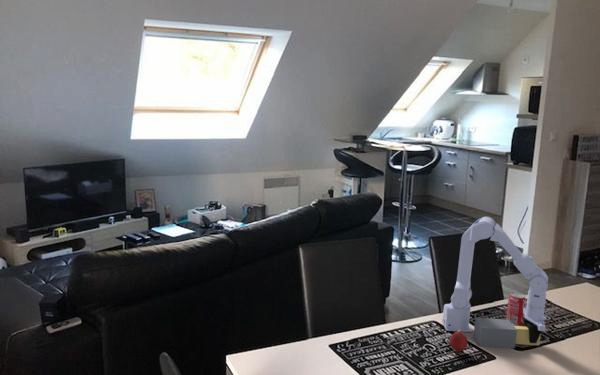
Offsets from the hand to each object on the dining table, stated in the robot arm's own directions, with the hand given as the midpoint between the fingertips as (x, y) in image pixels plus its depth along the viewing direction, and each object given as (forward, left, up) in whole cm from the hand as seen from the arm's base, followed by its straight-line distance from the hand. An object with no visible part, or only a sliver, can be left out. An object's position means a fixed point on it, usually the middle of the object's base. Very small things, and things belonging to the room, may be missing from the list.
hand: (531, 340), depth 171 cm
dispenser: (-13, 0, -1) cm, 13 cm away
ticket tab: (-6, 0, -1) cm, 6 cm away
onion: (-28, -9, -2) cm, 29 cm away
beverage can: (0, +16, -2) cm, 16 cm away
